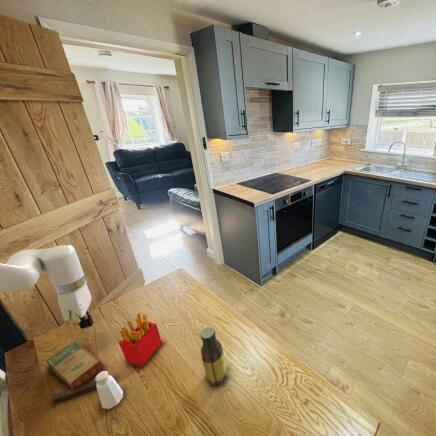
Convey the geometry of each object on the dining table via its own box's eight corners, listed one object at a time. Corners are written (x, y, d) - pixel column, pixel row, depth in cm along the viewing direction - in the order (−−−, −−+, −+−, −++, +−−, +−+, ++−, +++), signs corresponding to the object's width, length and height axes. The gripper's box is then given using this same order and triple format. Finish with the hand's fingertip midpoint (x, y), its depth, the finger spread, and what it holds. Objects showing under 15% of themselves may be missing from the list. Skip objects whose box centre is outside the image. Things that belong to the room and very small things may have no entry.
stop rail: (54, 403, 68) (52, 399, 68) (57, 398, 70) (54, 394, 69) (112, 383, 74) (111, 380, 73) (113, 379, 75) (112, 375, 74)
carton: (74, 392, 71) (69, 384, 69) (49, 368, 78) (43, 359, 76) (104, 368, 78) (100, 359, 76) (79, 347, 84) (74, 339, 83)
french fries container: (125, 362, 80) (113, 332, 74) (147, 339, 88) (138, 311, 82) (142, 368, 78) (131, 338, 72) (163, 344, 86) (154, 315, 81)
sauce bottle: (227, 364, 80) (221, 321, 72) (226, 383, 74) (219, 339, 66) (207, 368, 78) (198, 324, 70) (205, 388, 73) (195, 343, 65)
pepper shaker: (107, 414, 66) (94, 389, 62) (97, 403, 69) (84, 379, 64) (127, 395, 71) (117, 371, 66) (117, 386, 73) (107, 362, 68)
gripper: (64, 272, 80) (80, 313, 87) (43, 302, 67) (64, 347, 74) (91, 267, 83) (105, 308, 90) (76, 295, 70) (94, 339, 77)
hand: (87, 325), depth 82 cm, fingers closed
